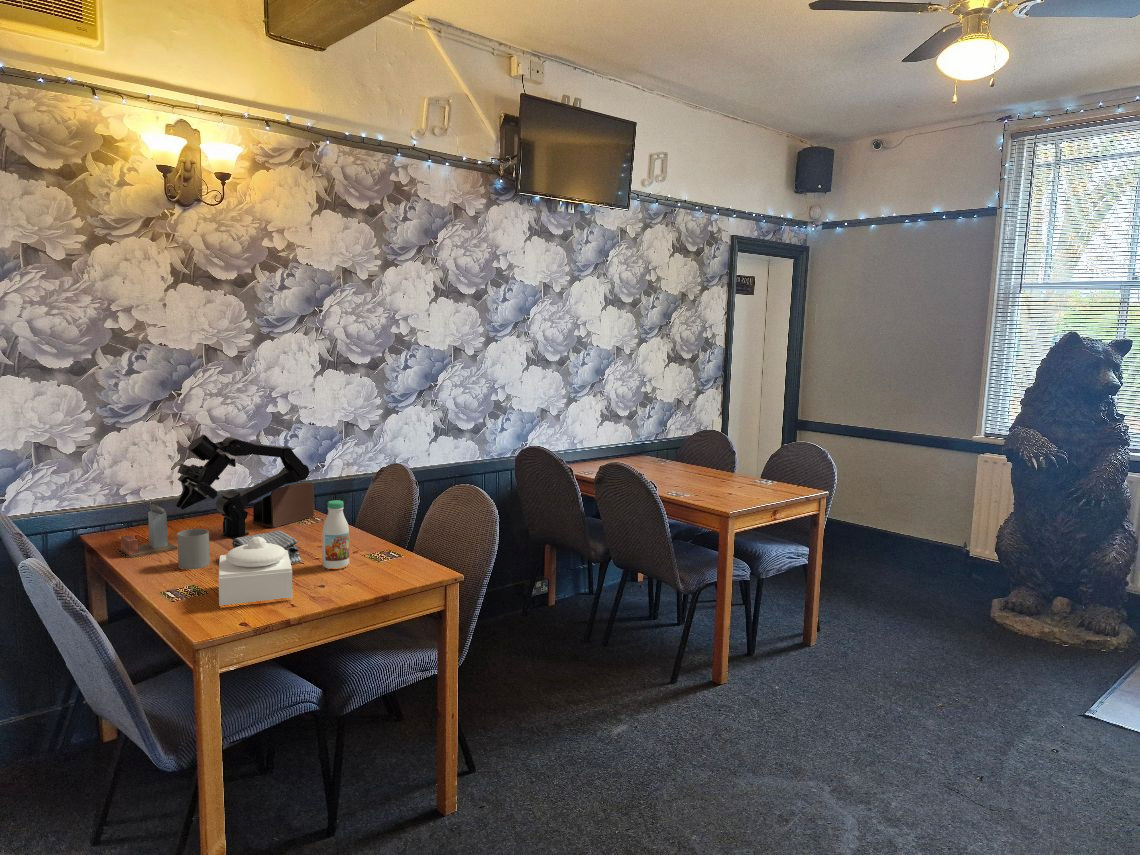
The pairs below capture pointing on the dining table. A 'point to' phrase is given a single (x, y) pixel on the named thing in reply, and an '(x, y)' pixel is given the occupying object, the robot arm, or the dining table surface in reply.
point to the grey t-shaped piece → (157, 527)
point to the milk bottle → (335, 537)
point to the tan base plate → (140, 547)
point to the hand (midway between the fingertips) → (179, 507)
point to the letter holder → (285, 505)
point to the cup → (193, 548)
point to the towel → (274, 538)
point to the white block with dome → (254, 573)
